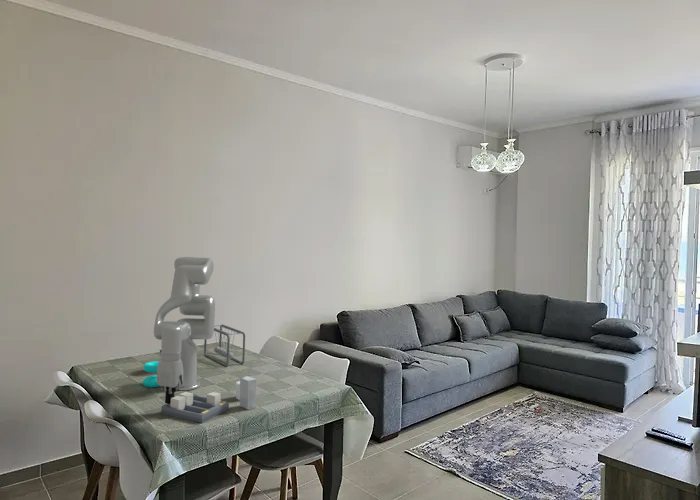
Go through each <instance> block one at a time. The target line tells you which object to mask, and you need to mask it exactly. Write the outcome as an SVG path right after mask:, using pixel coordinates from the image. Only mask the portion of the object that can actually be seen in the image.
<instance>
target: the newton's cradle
mask: <svg viewBox="0 0 700 500" xmlns="http://www.w3.org/2000/svg"><path fill="white" fill-rule="evenodd" d="M217 327H218V328H217ZM226 330H228V331H226ZM230 331H231V332H230ZM214 333H215V336H216V335H218V337H219V339H218V342H217V339H215V340H216V344H217V345H216V346H215V347H214V348H213V349H214V353H211V354H210V353H209V354H207V340H208V339H204V342H203V343H204V347H203V353H204V356H205V357H206V358H208V359H211V360H212V361H214V362H216V363H218V364H220V365H222V366H224V367H228V366H232V365H233V366H234V365H238V364H240V365H243V364H244V363H245V360H246V359H245V358H246V357H245V355H246V354H245V353H246V333H245V332H244V331H242V330H238V329H236V328H234V327H230V326H228V325H225V324H220V325H219V324H218V325H217V324H216V327H214ZM240 334H242V338H243V339H242V361H241V360H238V359H237V358H235V357H234V353H233V352H232V351H230V350H232V348H233V347H230V341H231V336H232V335H233V336H234V335H240ZM222 335H223V337H222ZM225 336H226V338H225ZM234 338H235V337H233V339H232V340H235V339H234ZM222 340H225V341H226V342H224V341H222ZM223 342H224V343H223ZM233 344H234V343H233V342H232V343H231V345H233ZM222 345H224V346H226V348H224V347H223V346H222ZM230 348H231V349H230ZM212 355H221V356H222V357H224V358H226V363H224V362H222V361H220V360H219V359H217V358H215V357H213V356H212ZM230 360H233V361H234V362H236V361H237V362H236V363H230ZM238 362H239V363H238Z"/></svg>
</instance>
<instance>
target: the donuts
mask: <svg viewBox="0 0 700 500" xmlns="http://www.w3.org/2000/svg"><path fill="white" fill-rule="evenodd" d="M158 363H159V360H158V361H156V360H155V361H149V362H146V363H145V364H143V365H142V366H143V367H142V369H143V371H145V372H146V373H150V374H151V373H152V374H156V375H149V376H147V377H144V379H143V380H142V385H143V386H144V387H147V388H158V387H160V386H159V385H158V384H157V382H156V378H157V368H158Z"/></svg>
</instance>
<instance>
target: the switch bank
mask: <svg viewBox="0 0 700 500" xmlns="http://www.w3.org/2000/svg"><path fill="white" fill-rule="evenodd" d="M229 403H230V402H228V401H224V400H221V402H220V404H218V405H214V404H209V403H207V396H206V397H205V396H200V395H195V394H193V404H192V405H187V404H185V409H183V410H181V409H176V408H172V407H171V403H170V404H167V403H164V404H163V405H161V412H160V413H161V414H162V415H167V416H172V417H174V418H180V419H184V420H189V421H192V422H196V423H200V424H203V423H206V422H207V421H209V420H211V419H213V418H214V417H217V416H219V415H221V414H223V413H225V412H227V411H228V410H229V407H230V406H229V405H230V404H229Z"/></svg>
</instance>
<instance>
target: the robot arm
mask: <svg viewBox="0 0 700 500" xmlns="http://www.w3.org/2000/svg"><path fill="white" fill-rule="evenodd" d="M173 265H174V272H173V279H172V285H171V286H172V287H171V291H170V292H171V293H170V297H169V298H168V299H167V300H166V301H164V302H163V304H162V305H161V306H160V308H159V309H158V311H157V312H156V315H155V320H154V324H153V325H154V326H153V336H154V338H155V339H157V340H159V341H161V343H160V345H161V347H160V348H161V353H160V352H159V355H160V359H159V360H158V361H159V363H158V368H157V373H156V375H157V378H156V382H157V384H158V385H159V387H161V388H162V389H163V392H164V394H165V395H164V397H165V398H164V399H165V403H164V404H170V403H171V398H173V397H175V393H176V392H177V391H190V390H194V389H197V388H199V387H200V384H201V383H200V381H198V380H197V376H198V374H197V373H198V372H197V371H198V370H197V368H198V347H197V345H196V342H194V340H205V339H207V340H210V339H212V338H213V337H214V333H215V331H214V328H215V317H216V316H215V315H216V301H215V298H214V297H213V296H212V295H208V294H206V295H204V294H203V295H202V294H201V295H200V286H202V285H207V284H208V282H209V281H210V279H211V276H212V275H213V272H214V267H215V265H214V262H213V260H212V258H210V257H198V256H197V257H195V256H192V257H191V256H182V257H181V256H180V257H178V258H176V259H175V260H174V263H173ZM178 308H179V312H180V314H181V315H184V316H199V317H200V316H202V317H204V318H191V317H190V318H188V317H187V318H180V319H178V320H176V321H174V320H173V321H172V320H171V321H170V320H169V321H168V320H167V321H166V320H165V317H166V315H168V314H169V313H170V312H171V311H173V310H175V309H178Z"/></svg>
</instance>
